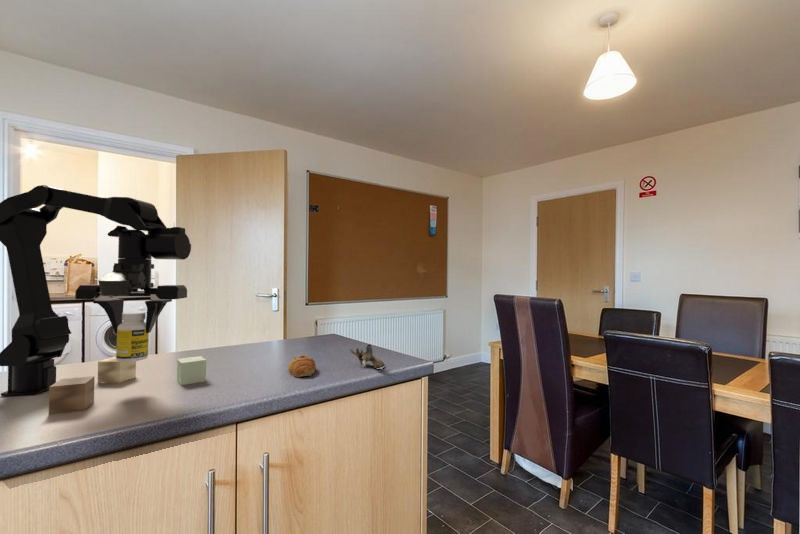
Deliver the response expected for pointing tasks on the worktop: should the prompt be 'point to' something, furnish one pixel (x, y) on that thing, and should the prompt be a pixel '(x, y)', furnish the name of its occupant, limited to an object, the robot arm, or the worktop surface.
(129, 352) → the supplement bottle
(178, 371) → the sage block
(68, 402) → the walnut block
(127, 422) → the worktop surface
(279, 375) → the worktop surface
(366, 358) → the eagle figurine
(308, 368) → the pastry
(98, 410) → the worktop surface
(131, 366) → the maple block
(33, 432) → the worktop surface
